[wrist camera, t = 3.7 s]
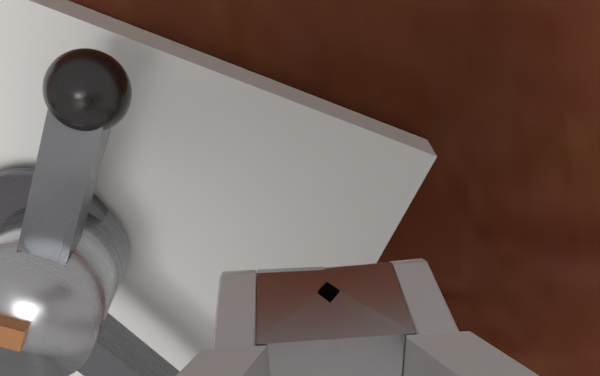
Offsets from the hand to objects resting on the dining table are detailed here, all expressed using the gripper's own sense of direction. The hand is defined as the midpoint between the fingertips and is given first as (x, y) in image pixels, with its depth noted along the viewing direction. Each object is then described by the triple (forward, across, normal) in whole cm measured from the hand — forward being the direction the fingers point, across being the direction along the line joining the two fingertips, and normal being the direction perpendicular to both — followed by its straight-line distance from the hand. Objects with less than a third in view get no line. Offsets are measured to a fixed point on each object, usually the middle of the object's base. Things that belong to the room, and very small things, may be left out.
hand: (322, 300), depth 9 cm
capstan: (+11, +8, +4) cm, 14 cm away
